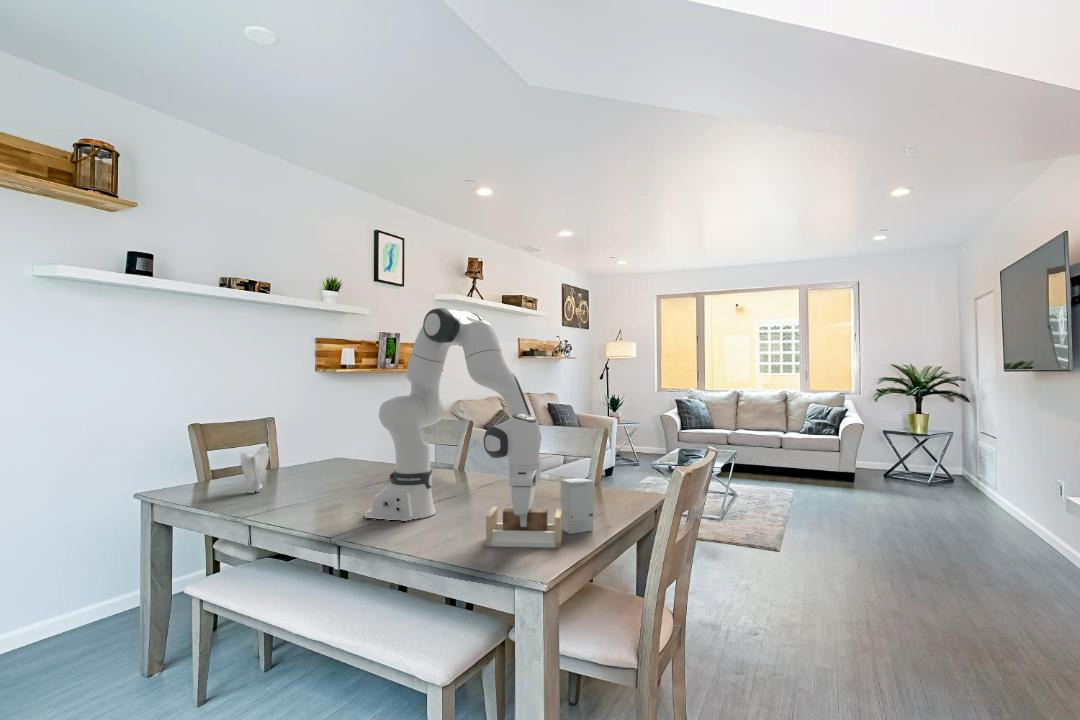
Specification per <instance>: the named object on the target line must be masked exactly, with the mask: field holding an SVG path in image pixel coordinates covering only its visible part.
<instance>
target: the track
mask: <svg viewBox="0 0 1080 720" xmlns="http://www.w3.org/2000/svg"><path fill="white" fill-rule="evenodd" d="M498 509H499V507H498V506H492V507H491V508H490V510H489V511H488V512H487V514H486V516H485V530H486V531H485V544H486V545H485V546H486V547H502V548H503V547H507V548H508V547H513V548H545V549H546V548H550V549H551V548H552V549H554V548H555V549H556V548H557V549H559V548H560V549H561V547H562V541H563V530H562V508H561V507H556V509H555V510H556V511H555V515H554V523H548V531H517V530H503V522H499V510H498Z"/></svg>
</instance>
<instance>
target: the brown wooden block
mask: <svg viewBox="0 0 1080 720" xmlns="http://www.w3.org/2000/svg"><path fill="white" fill-rule="evenodd" d="M548 518H549V517H548V508H530V509H529V512H528V514H527V526H526V527H521V526H520V517H519V516H515V515H514V512H513V507H512V508H511V507H510V508H509V507H507V508H504V509H503V511H502V523H503V530H517V531H548V524H549V523H548Z"/></svg>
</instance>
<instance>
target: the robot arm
mask: <svg viewBox="0 0 1080 720" xmlns="http://www.w3.org/2000/svg"><path fill="white" fill-rule="evenodd" d="M452 346H459V347H460V346H461V347H462V350H463V353H464V359H465V364H466V369H467V372H468V374H469V377H470V378H471V379H472V380H473V382H475V383H476V384H478V385H479V386H481V387H483V388H487V389H490V390H491V391H494V392H495V393H497V394H499V395H500V396H501V397H502V398H503V399H504V401H505V404H506V407H507V409H508V412H509V414H510V417H509V418H508V419H507V420H505V421H504V422H501V423H498V424H495V425H492V426H490V427H488V428H487V429H486V431H485V432H484V435H483V447H484V451H485V452H486V454H487V455H488V456H489V457H491V458H492V459H505V458H508V485H509V486H510V487H511V489H510V490H511V501H512V503H511V504H512V508H513V512H514V515H515V516H519V517H520V526H521V527H526V526H527V514H528V512H529V509H531V507H532V504H533V502H534V499H535V496H536V495H535V494H536V493H535V491H536V490H535V489H536V488H535V487H536V486H537V482H538V481H540V480H542V479H541V476H542V475H541V463H542V462H541V458H540V450H541V442H542V434H541V430H540V424H539V420H538V419H537V418H536V417H535V416H533V415H532V414H531V411H530V409H529V405H528V404H527V401H526V398H525V395H524V393H523V390H522V388H521V385H520V383H519V380H518V378H517V377H516V375H515V373H513V372H512V371H511V370H510V368H509V366H508V365H507V363H506V361H505V359H504V356H503V352H502V349H501V348H502V347H501V346H500V341H499V340H498V337H497V334H496V332H495V330H494V327H493V326H492V324H491V323H490V322H488V321H486V320H485V319H484V318H483V317H482V316H480V315H479V314H477V313H474V312H469V311H467V310H461V309H450V308H444V307H439V308H438V307H437V308H433V309H431V310H429V311H428V312H427V313H426V314H425V317H424V319H423V323H422V326H421V328H420V330H419V332H418V334H417V336H416V339H415V340H414V343H413V346H412V350H411V354H410V357H409V361H408V365H407V367H406V371H405V376H406V378H407V380H408V381H409V382H410V388H411V389H410V394H409V395H401V396H395V397H392V398H389V399H387V400H385V401H383V403H381V405H380V407H379V411H378V419H379V421H380V425H382V427H384V428H385V429H386V430H387V431H388V432H389V434H390V436H391V438H392V441H393V445H394V449H395V450H394V451H395V470H393V471H392V473H391V474H389V475H388V479H389V480H390V483H389V484H387V485H386V486H385V487H384V488H382V489H381V490H380V491H379V492H378V493H376V495H375V496H374V497H373V500H372V503H371V507H370V508H369V509H368V510H366V511H365V513H364V516H365V517H373V518H382V519H393V520H401V521H406V522H408V521H407V520H410V521H413V520H412V519H414V520H419V518H420V519H425V518H429V517H431V516H433V515H435V514H436V508H435V505H434V500H433V494H432V485H433V473H432V472H433V471H432V469H431V447H430V444H429V443H427V442H426V441H425V440H424V438H423V435H422V433H421V428H425V427H426V428H427V427H430V426H432V425H435V424H436V423H439V422H440V421H441V420H442V419H443V417H444V415H445V405H444V402H443V401H442V399H441V397H440V382H441V377H442V374H443V370H444V366H445V362H446V359H447V355H448V351H449V350H450V348H451V347H452ZM365 517H364V518H365ZM401 521H400V522H401Z"/></svg>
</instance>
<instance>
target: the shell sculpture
mask: <svg viewBox="0 0 1080 720" xmlns="http://www.w3.org/2000/svg"><path fill="white" fill-rule="evenodd" d="M269 449H270V448H269V447H268V446H267V445H261V447H259V449H258V450H257V452H256V453H253V454H247V453H246V452H244V451H241V452H240V454H241V455H240V458H239V459H240V465H241V469H242V472H243V475H244V478H245V479H244V480H245V481H246V488H245V490H246V489H247V490H252V489H254V490H256V489H260V488H262V487H263V488H264V486H263V485H262V480H263V478H264V475H265V473H266V468H267V465H268V464H269V457H270V453H269V451H270V450H269ZM254 487H255V488H254Z"/></svg>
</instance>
